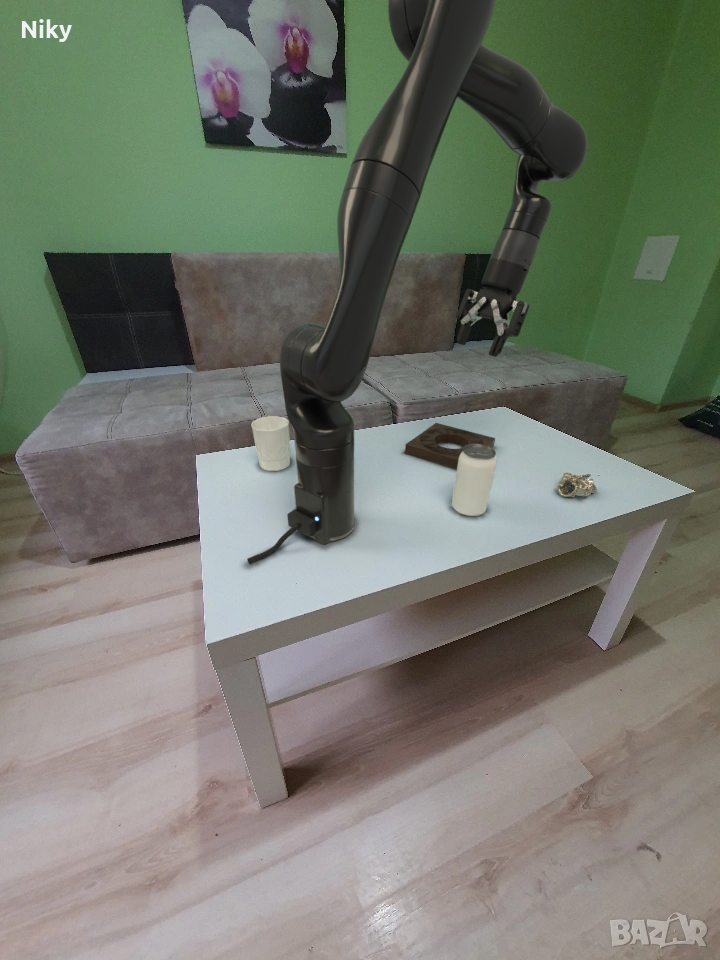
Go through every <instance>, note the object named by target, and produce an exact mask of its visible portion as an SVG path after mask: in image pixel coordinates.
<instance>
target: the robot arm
mask: <svg viewBox="0 0 720 960" xmlns="http://www.w3.org/2000/svg"><path fill="white" fill-rule="evenodd" d="M496 2H497V1H496V0H387V13H388V23H389V27H390V32H391V35H392V38H393V41H394V43H395V45H396V47H397V49H398V51H399V53H401V55H402V56H403V58H404V59H405V60H406V61H407V62H408V63H407V65H406V68H405V70H404V71H403V73H402V75H401V77H400V79H399V80H398V82H397V84H396V85H395V87H394V88H393V90H392V92H391V93H390V94H389V96H388V97H387V99H386V101H385V102H384V103H383V105H382V107H381V108H380V110H379V111H378V112H377V114H376V116H375V117H374V118H373V121H372V122H371V124H370V125H369V127H368V128H367V130H366V132H365V134H364V135H363V137H362V139H361V140H360V143H359V144H358V146H357V149H356V151H355V153H354V157H353V159H352V162H351V165H350V168H349V171H348V174H347V177H346V181H345V184H344V186H343V190H342V193H341V195H340V199H339V204H338V209H337V218H336V231H337V246H338V257H339V280H338V286H337V290H336V294H335V298H334V301H333V303H332V307H331V311H330V314H329V317H328V319H327V322H326V324H325V325H321V324H317V323H309V322H308V323H301V324H298V325H296V326H295V327H293V328H292V329H291V330H290V331H289V332H288V333H287V334H286V336H285V337H284V339H283V342H282V345H281V349H280V353H279V369H280V370H279V371H280V379H281V386H282V392H283V400H284V407H285V412H286V418H287V420H288V421H289V425H290V426H291V428H292V431H293V439H294V440H293V441H294V451H295V463H296V472H297V473H296V474H297V483H296V484H294V486H293V491H294V500H295V501H294V502H295V508H294V509H292V510H291V511H289V512H288V513H287V514H286V515H287V524H288V527H290V528H289V529H288V530H287V531H286V532H285V533H283V534H282V536H280V537H279V539H278V540H277V542H276V543H275V544H274V545H273V546H271V547H270V548H268V549H267V550H265V551H262V552H260V553H257V554H255V555H252V556H250V557H248V558H247V562H248V564H249V565H250V564H252V563H254V562H257V561H259V560H262V559H265V558H267V557H269V556H270V555H272V554H274V553H276V552H277V551H278V550H279V549H280V548H281V547H282V545H283V544H284V542H285V541H286V540H288V539H289V537H291V536H292V535H293V534H294V533H296V532H299V533H300V534H302V535H304V536H306V537H308V538H309V539H312V540H314V541H316V542H318V543H319V544H322V545H327V544H328V543H330V542H335V541H339V540H342V539H344V538H346V537H348V536H349V535H351V533H353V531H354V529H355V526H356V518H355V423H354V419H353V417H352V416H351V414H350V413H349V412H348V411H347V409H346V408H345V407H344V405H343V404H342V402H344V401H346V400H348V399H349V398H351V396H352V395H353V394H354V393H355V392H356V391H357V390H358V388H359V387H360V385H361V382H362V381H363V379H364V376H365V373H366V371H367V367H368V364H369V360H370V357H371V353H372V349H373V345H374V341H375V337H376V332H377V329H378V326H379V321H380V317H381V313H382V309H383V306H384V303H385V299H386V296H387V294H388V290H389V287H390V284H391V281H392V278H393V275H394V272H395V269H396V266H397V262H398V260H399V256H400V253H401V251H402V248H403V246H404V243H405V240H406V238H407V234H408V233H409V230H410V227H411V224H412V222H413V219H414V216H415V213H416V211H417V206H418V205H419V202H420V200H421V196H422V193H423V190H424V187H425V183H426V180H427V177H428V174H429V171H430V169H431V166H432V163H433V160H434V158H435V155H436V152H437V150H438V147H439V146H440V145H439V144H440V142H441V140H442V137H443V134H444V131H445V128H446V126H447V123H448V121H449V118H450V116H451V114H452V111H453V108H454V106H455V103H456V101H457V99H459V100H460V101H462V102H463V103H464V104H465V105H467V107H469V108H471V109H472V110H473V111H474V112H475V113H477V114H478V115H479V116H480V117H481V118H482V119H483V120H484V121H485V122H486V123H487V124H488V125H489V126H490V128H492V129H493V130H494V131H495V133H496V134H497V135H498V136H499V138H500V139H501V140H502V141H503V142H504V143H505V145H506V146H507V147H508V148H509V149H510V150H511V151H512V152H513V153H515V154H516V155H518V157H517V162H516V169H515V175H514V184H513V190H512V196H511V197H512V198H511V204H510V207H509V209H508V212H507V215H506V218H505V220H504V223H503V227H502V228H501V232H500V234H499V236H498V238H497V240H496V242H495V244H494V247H493V249H492V251H491V254H490V258H489V260H488V263H487V266H486V268H485V271H484V274H483V277H482V279H481V288H480V289H479V291H476V290H473V289H472V288H467V289H466V290H465V292H464V295H463V296H462V297H463V298H462V300H461V302H460V304H459V307H458V309H457V312H456V315H455V318H456V319H457V320H458V321H460V327H459V330H458V334H457V336H456V343H457V344H458V345H462V346H465V345H466V344H467V341H468V339H469V336H470V334H471V332H472V331H471V330H472V328H473V327H472V326H473V325H475V323H477V322H478V321H480V320H482V319H487V320H490V321H494V322H493V323H494V324H495V326H496V331H497V335H495V337H494V339H493V341H492V344H491V347H490V348H489V350H488V355H489V356H492V357H495V358H496V357H498V355H501V353H502V351H503V349H504V347H505V344H506V343H507V339H509V338H512V337H514V338H517V337H518V336H519V335H520V333H521V330H522V328H523V325H524V322H525V320H526V316H527V314H528V312H529V308H530V304H529V303H528V302H526V301H523V300H518V301H517V296H518V295H519V294H520V293H521V291H522V288H523V285H524V283H525V281H526V278H527V276H528V274H529V271H530V269H531V266H532V265H533V261H534V259H535V256H536V253H537V251H538V247H539V243H540V240H541V238H542V235H543V233H544V230H545V228H546V225H547V223H548V221H549V219H550V216H551V214H552V213H551V212H552V210H553V209H552V208H553V204H552V202H551V200H550V199H549V198H548V197H546V196H544V195H542V194H539V193H538V188H539V185H540V182H541V183H542V182H544V183H545V182H553V183H554V182H564V181H567V180H570V179H571V178H573V176H575V175H576V174H577V173H578V172H579V171H580V169H581V168H582V166H584V163H585V160H586V158H587V154H588V136H587V133H586V131H585V129H584V127H583V125H582V124H581V123H580V122H579V121H578V120H577V119H576V118H574V117H573V116H571V115H570V114H569V113H568V112H566V111H565V110H564V109H562V108H560V107H558V106H556V105H555V104H553V103H552V101H551V100H550V97H549V96H548V95H547V93H546V91H545V90H544V88H543V87H542V85H541V83H540V82H539V80H538V79H537V78H536V76H535V75H533V73H532V72H531V71H530V70H529V69H528V68H526V67H525V66H524V65H522V64H521V63H519V62H516V61H515V60H513V59H511V58H510V57H507V56H505V55H503V54H501V53H498V52H496V51H494V50H493V49H491V48H489V47H488V46H485V45H484V44H483V41H484V39H485V36H486V34H487V31H488V29H489V26H490V23H491V21H492V17H493V15H494V14H493V13H494V9H495V6H496ZM475 303H476V304H475ZM511 311H512V315H511V318H510V316H509V315H510V314H509V313H510V312H511Z"/></svg>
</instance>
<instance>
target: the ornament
mask: <svg viewBox="0 0 720 960" xmlns="http://www.w3.org/2000/svg"><path fill="white" fill-rule="evenodd" d="M590 477H592V474H590V473H587V474H580V475H577V474H573V475H572V473H571V472H564V473H563V475H562V477H561V478H560V481H559V483H558V485H557V493H558V494H559V495H560V496H561V497H564V498H568V497H569V498H570V497H571V498H574V497H575V496H578V497H589V496H591V494H595V493H596V492H597V491H598V488H597V486H596V485H595V483H594V479H593V478H590ZM568 487H569V488H570V489H572V491H571V492H570V491H568Z"/></svg>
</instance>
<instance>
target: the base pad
mask: <svg viewBox="0 0 720 960" xmlns="http://www.w3.org/2000/svg"><path fill="white" fill-rule="evenodd" d="M495 442H496V437H493V436H489V435H486V434H481V433H477V432H473V431H469V430H465V429H462V428H458V427H454V426H450V425H447V424H442V423H438V422H435V423H433V424H432V425H431V426H429V427H428V428H426V429H425V430H424V431H422V432H421V433H419V434H418V435H417V436H415V437H414V438H413V439H410V441H408V442H406V443H405V445H404V447H405V448H404V449H405V450H404V454H405V455H409V456H412V457H415V458H418V459H421V460H425V461H427V462H431V463H433V464H436V465H440V466H443V467H446V468H450V469H453V470H455V471H457V466H458V460H459V456H460V454H461V453H462V451H463V448H464V447H465V446H466V445H470V444H481V445H485V446H488V447H490V448H492V449H494V447H495ZM440 444H454V445H458V446H460V447H461V448H451V447H445V446H441V445H440Z"/></svg>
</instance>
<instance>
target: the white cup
mask: <svg viewBox="0 0 720 960" xmlns="http://www.w3.org/2000/svg"><path fill="white" fill-rule="evenodd" d="M250 426H251V432H252V436H253V439H254V440H253V442H254V446H255V449H256V455H257V457H258V463H259V466H260V468H261V469H262V470H265V471H267V472H279V471H282V470H284V469H287V468H288V467H289V466H290V465H291V436H290V435H291V433H290V422H289V420H288V418H287V417H283V416H278V415H270V416H262V417H259V418H256V419H254V420H253V421H252V422H251V424H250Z"/></svg>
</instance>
